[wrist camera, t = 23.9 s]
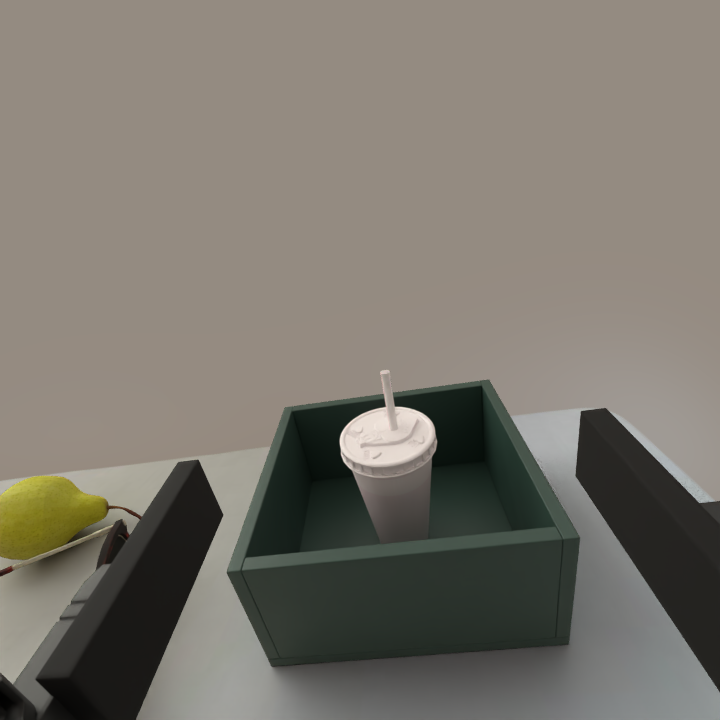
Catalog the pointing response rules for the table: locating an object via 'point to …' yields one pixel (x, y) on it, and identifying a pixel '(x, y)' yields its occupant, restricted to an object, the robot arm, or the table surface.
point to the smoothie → (392, 466)
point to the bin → (405, 559)
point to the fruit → (46, 515)
